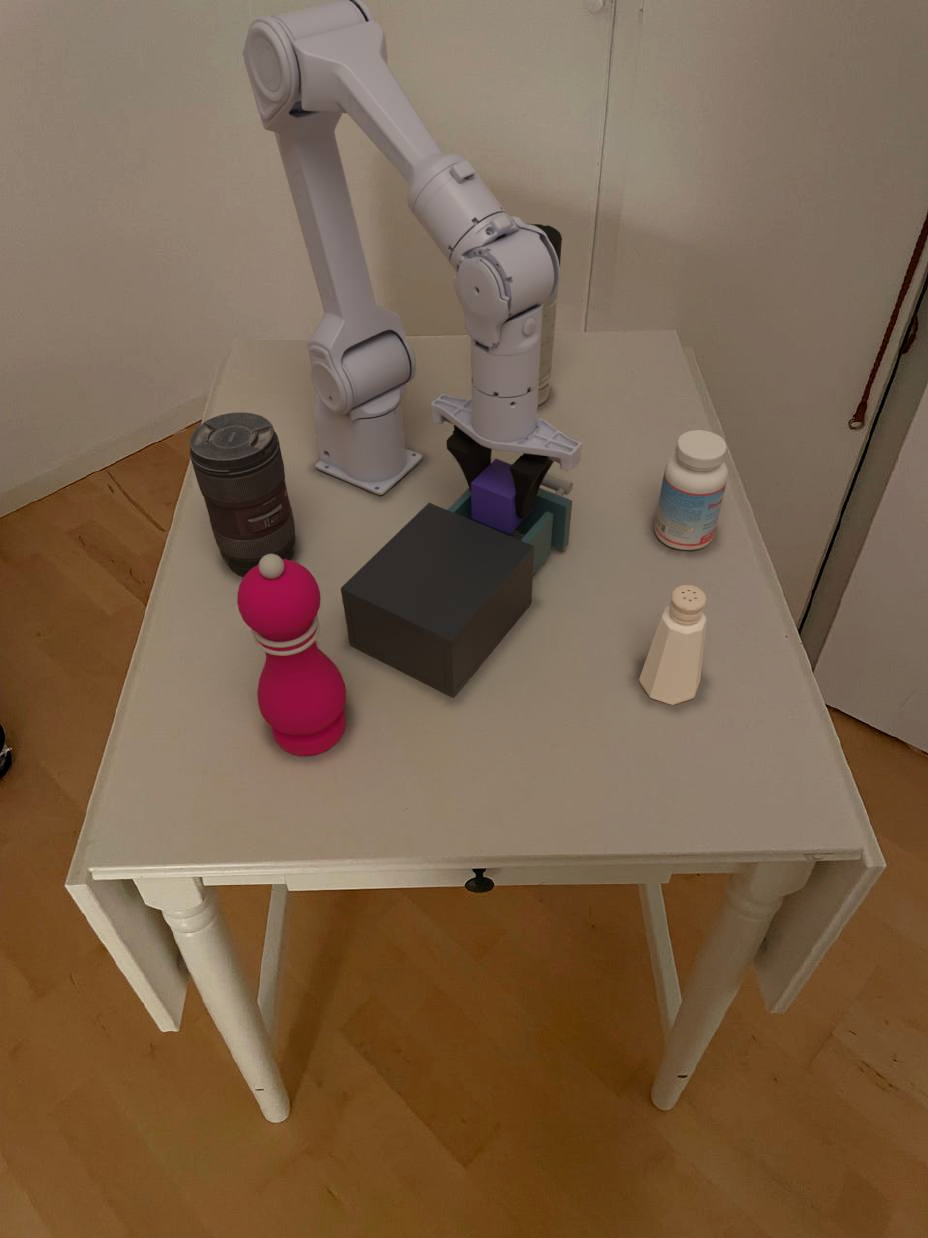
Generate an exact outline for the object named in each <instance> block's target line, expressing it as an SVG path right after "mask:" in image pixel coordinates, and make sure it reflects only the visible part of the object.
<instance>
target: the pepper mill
mask: <svg viewBox="0 0 928 1238" xmlns="http://www.w3.org/2000/svg"><path fill="white" fill-rule="evenodd" d="M321 601H322V600H321V591H320V588H319V584H318V582H317V580H316V578H315V576H314V575H313V574H312V572H310V570H309V569H308V568H307V567H305V566H304V565H302V564H301V563H299V562H296V561H294V560H291V561H290V560H287V559H281V558H280V557H279V556H278V555H275V554H267V555H265V556H263V557H262V559H261V560H260V562H259V564H258V565H257V566H255V567H253V568H252V569H251V570H250V571H249V572H248V573H247V574H246V575H245V576H244V577H242V579H241V581H240V583H239V586H238V590H237V598H236V602H237V607H238V608H237V609H238V612H239V614H240V616H241V619H242V620H243V622H244V623H245V624H246V626H247V627H249V628H250V629H251V632H252V634H253V636H252V637H253V640H254V643H255V645H256V646H257V647H258V648H259V649H260V650H261V651H263V652H264V654H265V661H264V665H263V668H262V670H261V673H260V675H259V678H258V685H257V691H256V692H257V703H258V709H259V712H260V715H261V716H262V718H263V719H264V721H265V722H266V723H267V724H268V725H269V726H270V728H271V732H272V736H273V738H274V740H275V742H276V744H277V745H278V746H279V747H280V748H281V749H283V750H284V752H287V753H289V754H292V755H296V756H300V757H301V756H303V757H308V756H316V755H318V754H322V753H324V752H326V751H327V750H329V749H331V748H333V747H334V746H335V745H336V744H338V742H339V741H340V739H341V738H342V736H343V735H344V733H345V730H346V724H347V719H346V713H345V710H344V709H345V705H346V702H347V688H346V684H345V681H344V678H343V675H342V673H341V672H340V669H339V668H338V667H337V665H336V664H335V662H333V660H331V658H330V657H329V656H327V654H325V653H324V652H323V651H322V650H321V649H320V648H319V647H318V644H317V639H318V637H319V634H320V630H321V629H320V628H321V625H320V621H319V615H318V613H319V610H320V607H321Z"/></svg>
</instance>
